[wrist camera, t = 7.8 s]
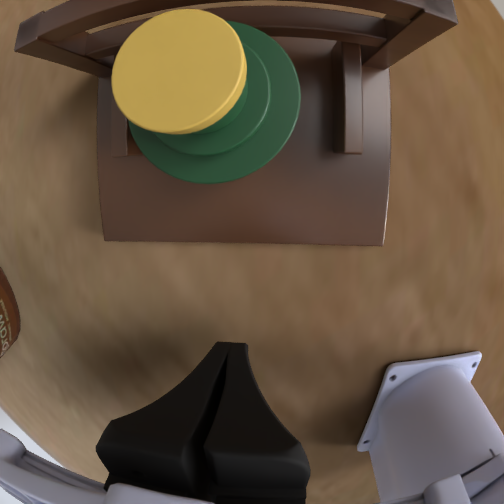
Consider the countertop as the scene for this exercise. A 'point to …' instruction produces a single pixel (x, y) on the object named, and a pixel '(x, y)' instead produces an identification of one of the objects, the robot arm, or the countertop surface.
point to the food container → (7, 315)
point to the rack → (296, 148)
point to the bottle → (205, 95)
